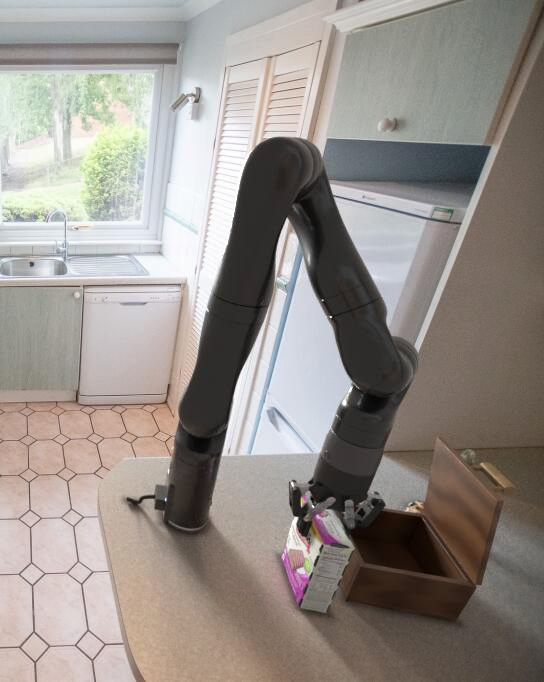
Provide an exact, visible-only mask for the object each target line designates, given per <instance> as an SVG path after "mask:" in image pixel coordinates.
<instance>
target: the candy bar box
mask: <svg viewBox="0 0 544 682" xmlns="http://www.w3.org/2000/svg"><path fill="white" fill-rule="evenodd" d="M308 495H309V494H305V495H304V497H303V498H301V506H302V505H303V504H304V502H305V501H306V498H307V496H308ZM297 520H298V517H295V516H293V519H292V522H291V525H290V529H289V531H288V534H287V536H286V540H285V543H284V546H283V549H282V552H281V555H280V558H281V561H282V564H283V568H284V570H285V572H286V573H285V574H286V576H287V579H288V581H289V584H290V588H291V591H292V593H293V596H294V599H295V601H296V605H297V608H298V609H301V610H304V611H311V612H316V613H321V614H328V612H329V610H330V607H331V605H332V602H333V600H334V597H335V596H336V594H337V591H338V589H339V584H340V582H341V579H342V577H343V575H344V572H345V570H346V568H347V565H348V563H349V560H350V558H351V556H352V554H353V551H354V549H355V548H354V546H353V544H352V542H351V540H350V538H349V536H348V534H347V532H346V530H345V528H344V526H343V525H342V523H341V521H340V519H339V517H338V515H337V513H336V511H335V510H333V509H331V510H327V509H325V510H324V511H323V512H322V513H321V514H320V515H316V516H315V517H314V518H313V519H312V520H311V522H312V524H311V526H310V529H309V532H308V535H307V537H303V536H301V534H300V533H299V532H298V529H297V526H296V523H297Z"/></svg>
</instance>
